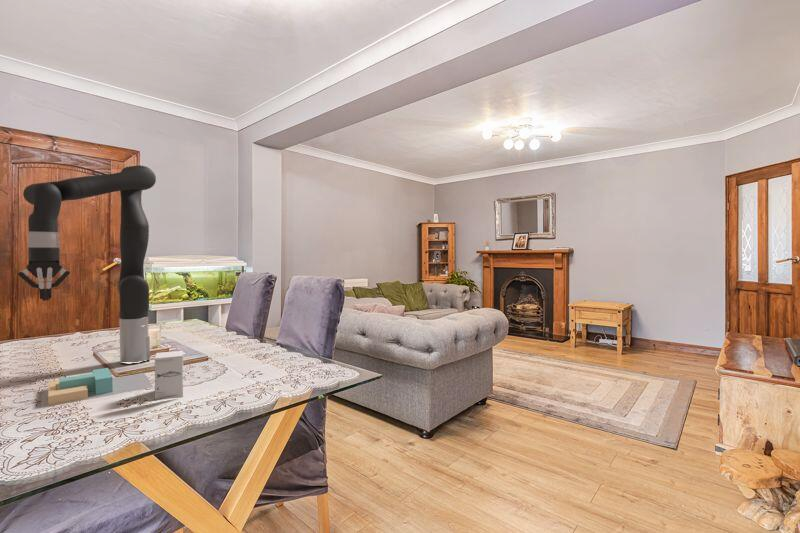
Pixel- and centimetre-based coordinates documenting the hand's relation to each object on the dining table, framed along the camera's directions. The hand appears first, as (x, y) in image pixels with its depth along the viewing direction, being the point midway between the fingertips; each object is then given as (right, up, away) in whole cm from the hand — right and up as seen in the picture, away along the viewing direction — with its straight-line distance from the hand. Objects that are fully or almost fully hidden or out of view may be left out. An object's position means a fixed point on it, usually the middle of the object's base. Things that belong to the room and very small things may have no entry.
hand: (45, 300), depth 128 cm
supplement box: (+44, -28, -8) cm, 53 cm away
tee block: (+19, -27, -8) cm, 34 cm away
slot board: (+21, -27, -5) cm, 35 cm away
